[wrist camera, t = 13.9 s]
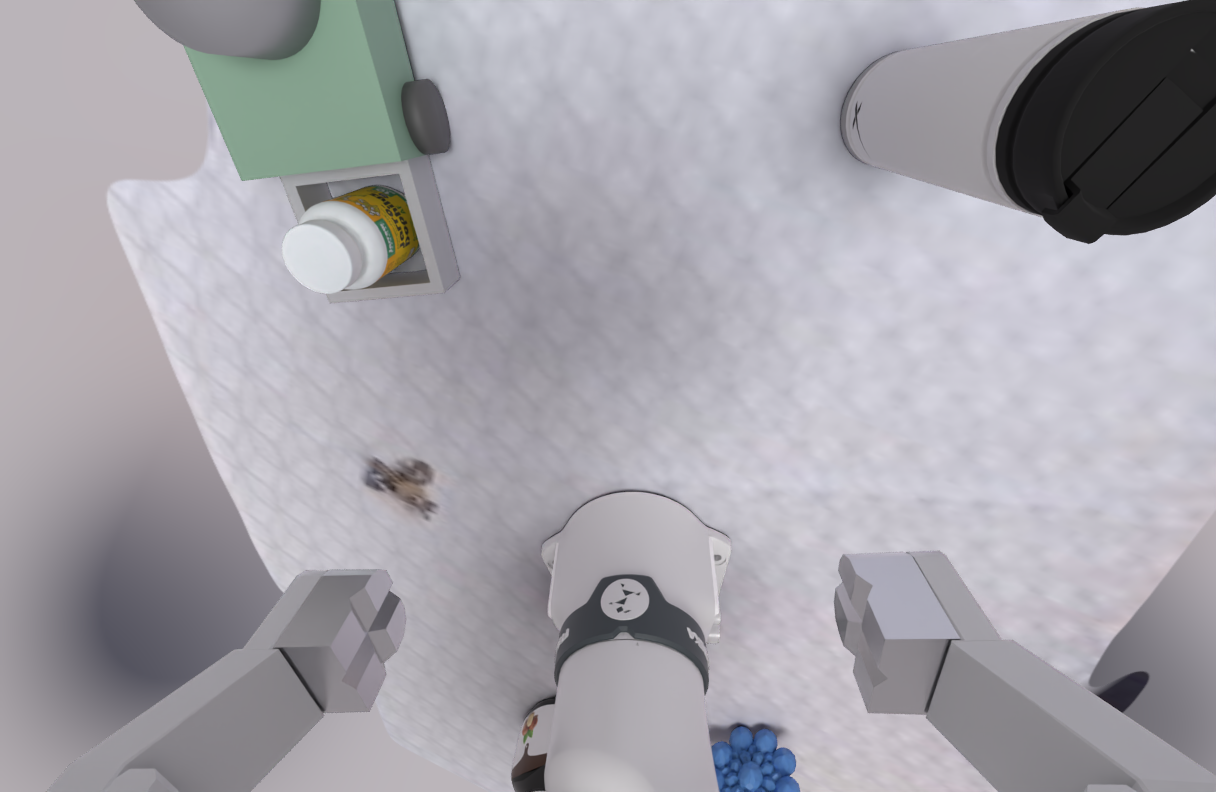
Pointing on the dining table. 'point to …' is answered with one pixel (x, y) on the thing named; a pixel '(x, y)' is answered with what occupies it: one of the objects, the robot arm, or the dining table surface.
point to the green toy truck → (322, 108)
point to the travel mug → (1055, 118)
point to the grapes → (753, 763)
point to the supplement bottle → (350, 240)
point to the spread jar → (533, 749)
